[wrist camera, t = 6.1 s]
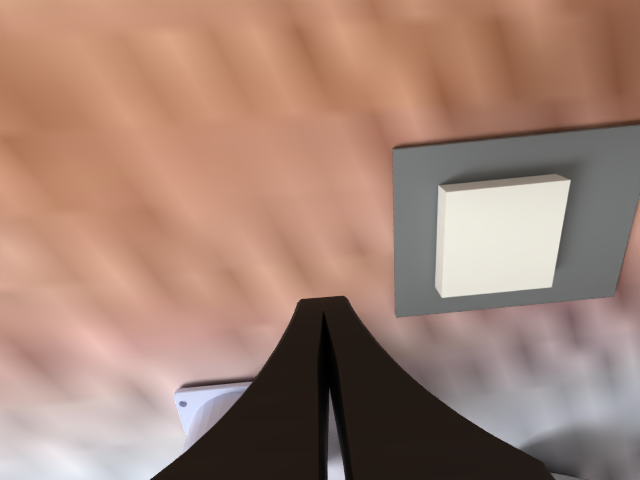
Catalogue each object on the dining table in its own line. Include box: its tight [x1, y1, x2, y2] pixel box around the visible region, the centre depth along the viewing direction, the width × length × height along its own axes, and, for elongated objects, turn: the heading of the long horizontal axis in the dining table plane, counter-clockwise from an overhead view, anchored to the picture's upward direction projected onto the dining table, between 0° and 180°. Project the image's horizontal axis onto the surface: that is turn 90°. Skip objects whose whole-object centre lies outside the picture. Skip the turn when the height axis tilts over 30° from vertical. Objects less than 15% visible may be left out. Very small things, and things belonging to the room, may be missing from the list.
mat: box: [393, 124, 640, 318], centre depth 21 cm, size 10×13×1 cm
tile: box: [435, 174, 571, 298], centre depth 20 cm, size 6×1×6 cm
